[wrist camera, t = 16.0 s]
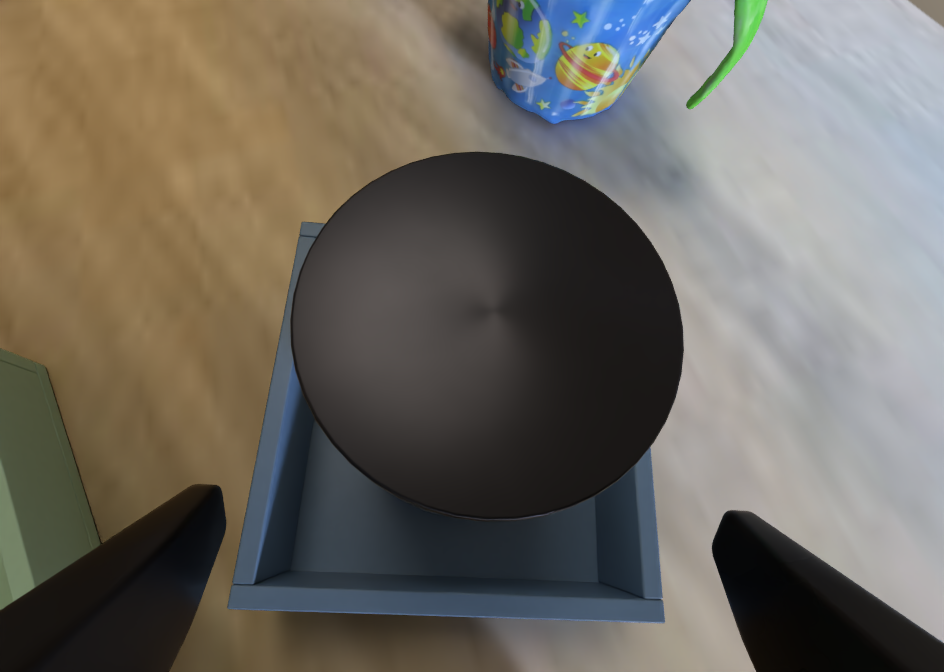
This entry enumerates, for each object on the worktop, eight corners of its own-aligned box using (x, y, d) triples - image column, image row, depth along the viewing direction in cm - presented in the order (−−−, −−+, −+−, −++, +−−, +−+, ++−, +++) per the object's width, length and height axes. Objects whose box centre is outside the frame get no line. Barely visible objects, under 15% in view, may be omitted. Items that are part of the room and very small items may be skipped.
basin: (609, 598, 18) (666, 623, 14) (274, 586, 17) (226, 609, 13) (594, 301, 23) (635, 250, 18) (325, 279, 22) (301, 220, 17)
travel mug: (410, 554, 18) (391, 613, 7) (336, 384, 20) (232, 222, 9) (573, 464, 19) (762, 400, 9) (491, 315, 21) (561, 109, 10)
